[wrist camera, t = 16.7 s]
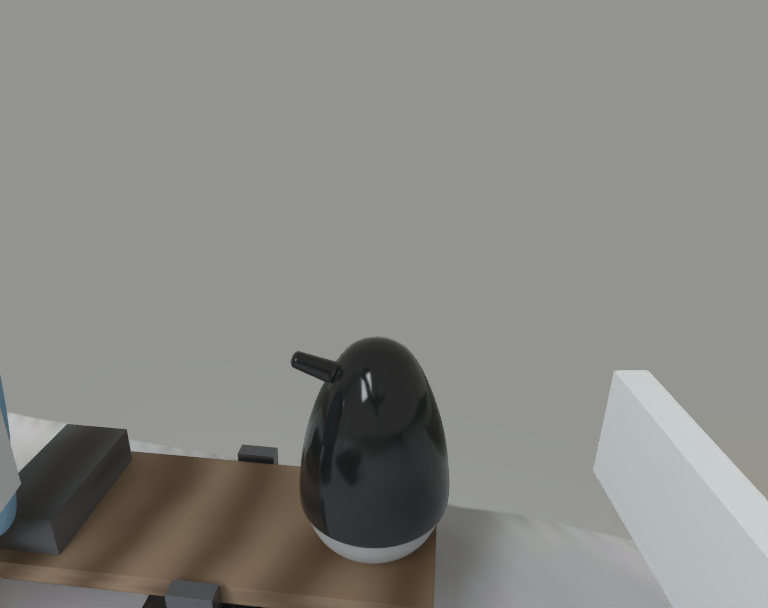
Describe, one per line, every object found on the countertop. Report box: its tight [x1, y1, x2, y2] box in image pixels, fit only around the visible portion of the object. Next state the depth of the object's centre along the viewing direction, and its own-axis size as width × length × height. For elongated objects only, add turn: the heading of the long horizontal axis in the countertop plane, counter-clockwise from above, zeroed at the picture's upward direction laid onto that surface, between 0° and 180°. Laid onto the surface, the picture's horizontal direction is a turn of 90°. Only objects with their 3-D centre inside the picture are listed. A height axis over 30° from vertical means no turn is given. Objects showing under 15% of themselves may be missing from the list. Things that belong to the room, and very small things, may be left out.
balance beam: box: [0, 424, 436, 608], centre depth 44 cm, size 30×12×4 cm, turn 84°
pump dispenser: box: [291, 337, 449, 564], centre depth 40 cm, size 10×10×15 cm
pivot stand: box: [142, 445, 278, 608], centre depth 45 cm, size 12×15×8 cm
